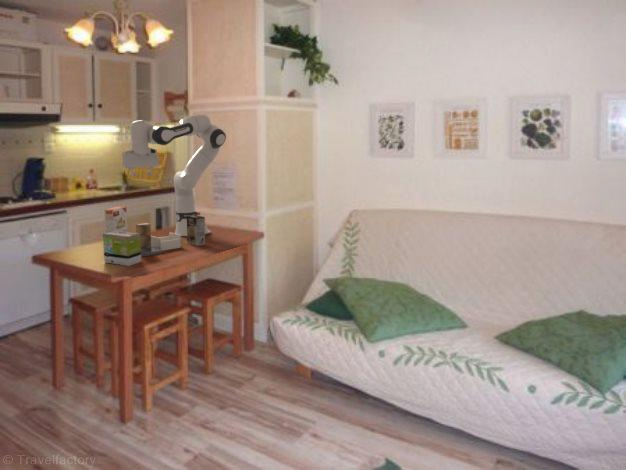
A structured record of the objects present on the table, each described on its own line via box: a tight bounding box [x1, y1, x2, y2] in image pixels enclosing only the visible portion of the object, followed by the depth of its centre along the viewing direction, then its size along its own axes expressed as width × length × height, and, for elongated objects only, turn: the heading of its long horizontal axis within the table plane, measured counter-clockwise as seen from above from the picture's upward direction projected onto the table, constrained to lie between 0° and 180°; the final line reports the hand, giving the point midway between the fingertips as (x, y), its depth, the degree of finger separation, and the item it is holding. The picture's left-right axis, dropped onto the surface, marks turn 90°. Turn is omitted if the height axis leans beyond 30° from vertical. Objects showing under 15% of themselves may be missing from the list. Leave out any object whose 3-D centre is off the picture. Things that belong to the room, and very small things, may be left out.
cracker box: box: [104, 206, 128, 234], centre depth 311 cm, size 14×6×21 cm, turn 168°
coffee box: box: [186, 215, 206, 247], centre depth 315 cm, size 9×6×16 cm
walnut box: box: [135, 222, 152, 252], centre depth 292 cm, size 6×4×14 cm, turn 135°
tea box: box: [102, 231, 142, 267], centre depth 271 cm, size 15×10×15 cm, turn 69°
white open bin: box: [151, 231, 182, 252], centre depth 306 cm, size 13×11×7 cm
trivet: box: [141, 247, 164, 258], centre depth 293 cm, size 14×14×2 cm
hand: (141, 175), depth 305 cm, fingers open, 8 cm apart
